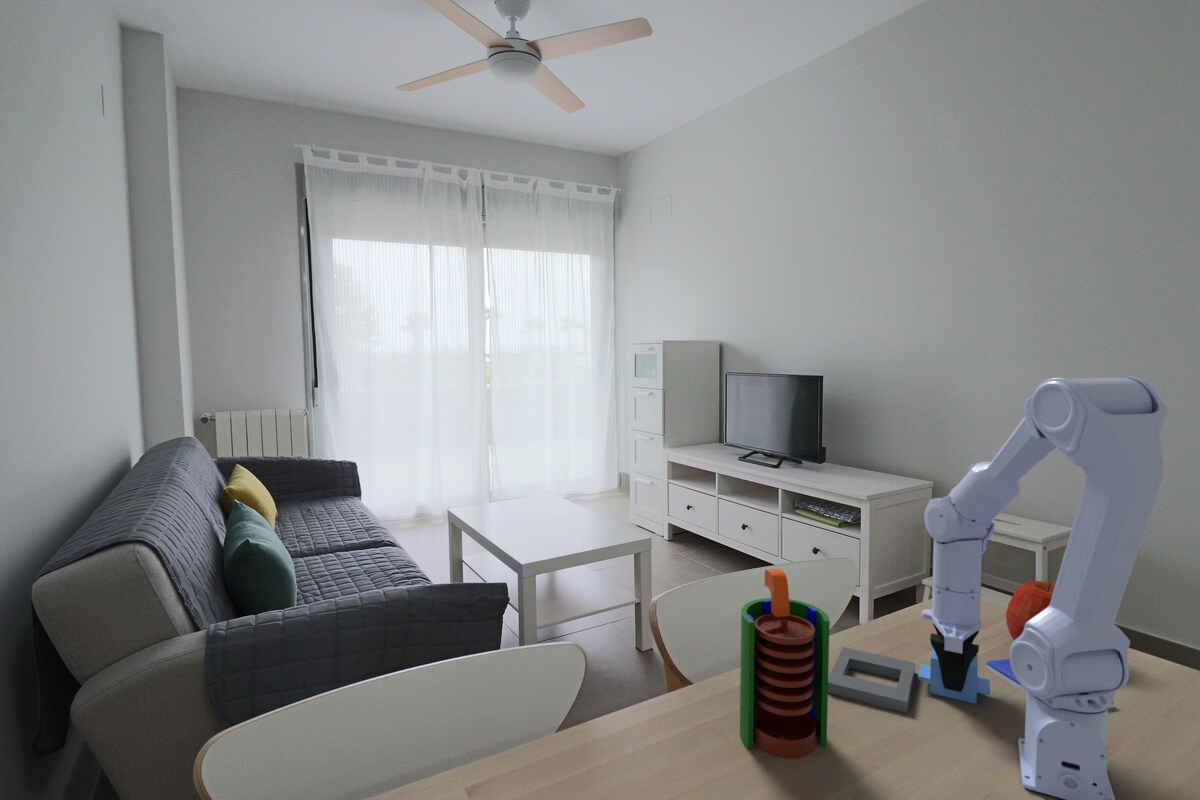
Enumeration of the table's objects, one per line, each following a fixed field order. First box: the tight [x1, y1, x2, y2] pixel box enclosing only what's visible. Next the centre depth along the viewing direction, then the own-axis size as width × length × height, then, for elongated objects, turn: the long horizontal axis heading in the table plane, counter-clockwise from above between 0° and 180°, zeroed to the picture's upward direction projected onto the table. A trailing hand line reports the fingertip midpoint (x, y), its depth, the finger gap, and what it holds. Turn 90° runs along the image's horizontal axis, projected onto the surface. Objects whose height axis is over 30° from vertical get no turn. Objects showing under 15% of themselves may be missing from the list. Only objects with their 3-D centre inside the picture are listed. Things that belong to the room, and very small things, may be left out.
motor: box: [739, 568, 831, 760], centre depth 76 cm, size 10×9×20 cm
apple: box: [1005, 580, 1056, 641], centre depth 98 cm, size 11×11×11 cm
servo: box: [917, 646, 991, 705], centre depth 86 cm, size 4×8×6 cm, turn 59°
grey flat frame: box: [828, 646, 916, 714], centre depth 89 cm, size 12×10×2 cm
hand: (953, 681), depth 86 cm, fingers closed on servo, 4 cm apart
